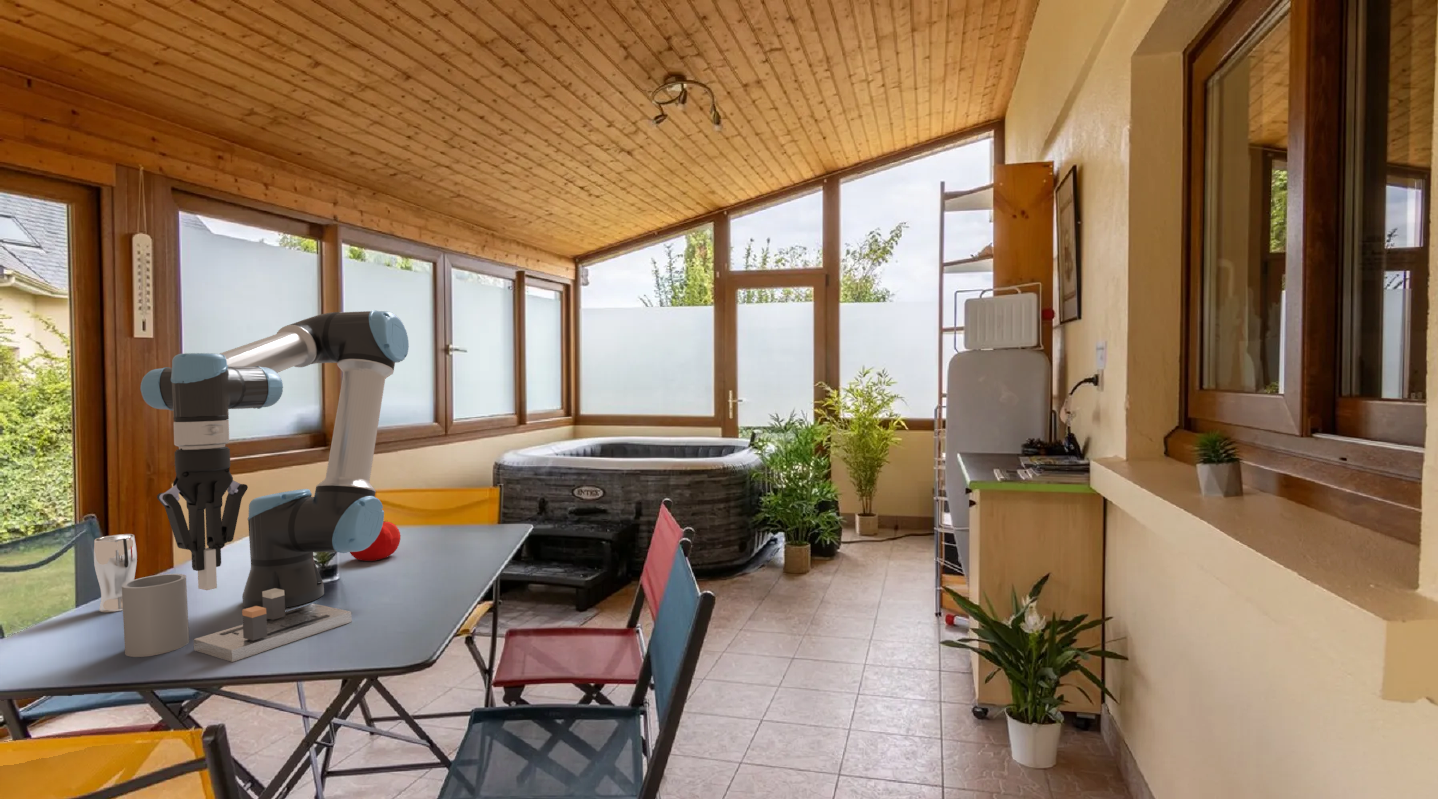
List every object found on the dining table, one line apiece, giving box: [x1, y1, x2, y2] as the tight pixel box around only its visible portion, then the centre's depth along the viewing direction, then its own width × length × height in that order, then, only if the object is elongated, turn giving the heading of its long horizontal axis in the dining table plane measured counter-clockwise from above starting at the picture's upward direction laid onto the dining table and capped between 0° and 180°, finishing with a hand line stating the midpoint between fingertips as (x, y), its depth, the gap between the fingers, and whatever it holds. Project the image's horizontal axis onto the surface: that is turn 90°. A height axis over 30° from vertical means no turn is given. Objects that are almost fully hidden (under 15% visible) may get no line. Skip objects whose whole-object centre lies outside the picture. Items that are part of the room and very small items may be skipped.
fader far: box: [262, 588, 286, 620], centre depth 141 cm, size 3×2×5 cm
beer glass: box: [93, 533, 138, 613], centre depth 155 cm, size 7×7×15 cm
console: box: [193, 603, 353, 663], centre depth 137 cm, size 12×22×2 cm, turn 151°
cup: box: [122, 573, 190, 658], centre depth 132 cm, size 9×9×12 cm
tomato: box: [349, 519, 402, 562], centre depth 194 cm, size 11×13×10 cm
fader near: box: [241, 606, 267, 641], centre depth 130 cm, size 3×2×5 cm
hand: (207, 588), depth 123 cm, fingers closed
